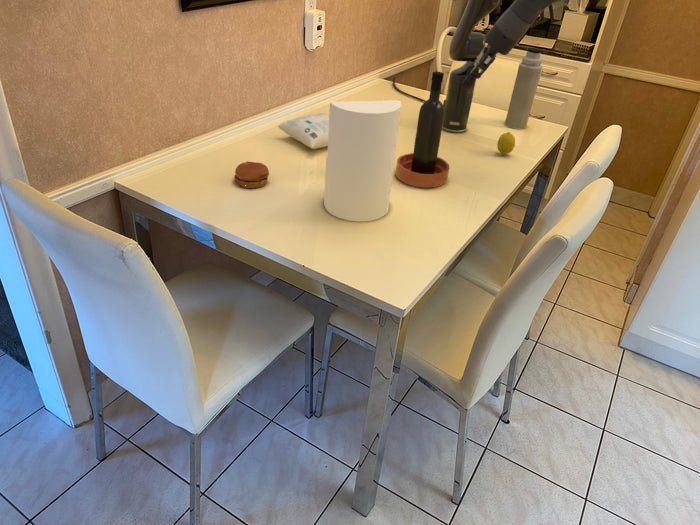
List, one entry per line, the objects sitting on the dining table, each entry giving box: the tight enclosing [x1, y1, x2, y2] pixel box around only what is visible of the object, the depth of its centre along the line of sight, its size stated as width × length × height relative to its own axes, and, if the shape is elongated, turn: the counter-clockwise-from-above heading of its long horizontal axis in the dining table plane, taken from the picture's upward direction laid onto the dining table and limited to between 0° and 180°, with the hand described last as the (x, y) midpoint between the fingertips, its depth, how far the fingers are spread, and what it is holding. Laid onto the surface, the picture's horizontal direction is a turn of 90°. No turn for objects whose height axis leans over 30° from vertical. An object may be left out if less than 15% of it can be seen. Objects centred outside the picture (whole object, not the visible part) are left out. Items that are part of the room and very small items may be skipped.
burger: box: [233, 161, 270, 189], centre depth 146 cm, size 10×9×5 cm
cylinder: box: [323, 99, 402, 223], centre depth 132 cm, size 17×17×28 cm
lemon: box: [496, 131, 516, 156], centre depth 173 cm, size 6×6×8 cm
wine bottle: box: [411, 71, 445, 174], centre depth 148 cm, size 6×6×30 cm
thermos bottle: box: [504, 47, 543, 130], centre depth 193 cm, size 8×8×28 cm
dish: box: [395, 152, 450, 188], centre depth 155 cm, size 15×15×4 cm
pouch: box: [276, 112, 329, 150], centre depth 172 cm, size 8×19×20 cm
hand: (466, 81), depth 144 cm, fingers open, 8 cm apart
